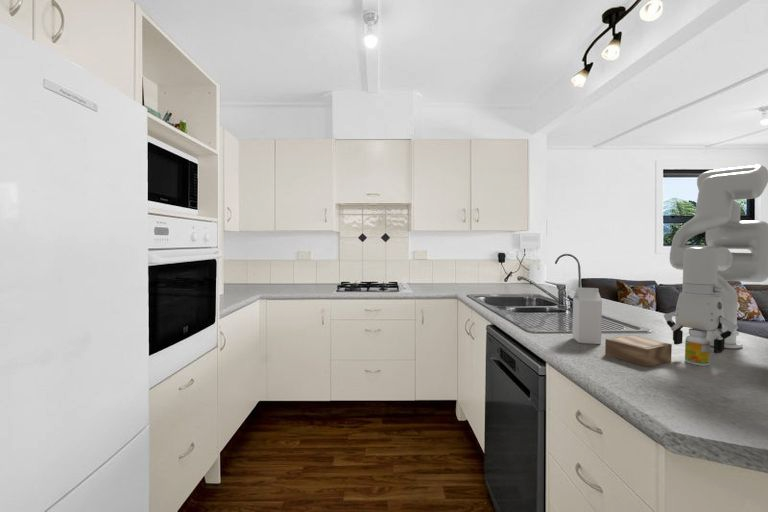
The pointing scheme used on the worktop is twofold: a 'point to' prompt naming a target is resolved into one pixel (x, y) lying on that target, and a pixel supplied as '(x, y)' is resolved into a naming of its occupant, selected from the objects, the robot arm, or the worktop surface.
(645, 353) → the pedestal
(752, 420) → the worktop surface
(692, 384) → the worktop surface
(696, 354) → the supplement bottle
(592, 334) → the milk carton
